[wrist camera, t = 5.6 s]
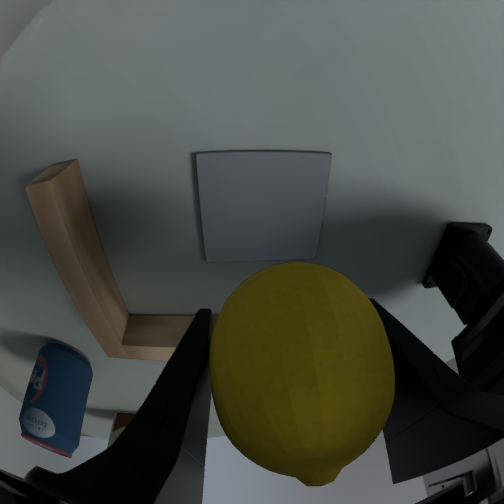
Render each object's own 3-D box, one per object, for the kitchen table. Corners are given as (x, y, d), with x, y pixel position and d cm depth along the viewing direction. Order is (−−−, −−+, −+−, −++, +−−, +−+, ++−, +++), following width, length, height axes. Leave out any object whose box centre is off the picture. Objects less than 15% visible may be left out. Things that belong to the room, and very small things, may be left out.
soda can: (44, 328, 22) (11, 429, 12) (100, 356, 24) (80, 459, 15) (42, 353, 25) (19, 436, 15) (90, 376, 28) (74, 460, 18)
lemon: (316, 188, 9) (433, 445, 2) (362, 286, 12) (424, 453, 5) (184, 262, 10) (157, 488, 4) (258, 333, 13) (273, 494, 7)
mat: (330, 152, 14) (332, 154, 13) (314, 255, 18) (315, 258, 18) (196, 152, 13) (196, 153, 13) (206, 259, 17) (206, 262, 17)
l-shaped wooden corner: (348, 145, 13) (372, 164, 11) (310, 324, 23) (318, 353, 20) (52, 164, 12) (24, 186, 10) (116, 328, 21) (108, 357, 19)
